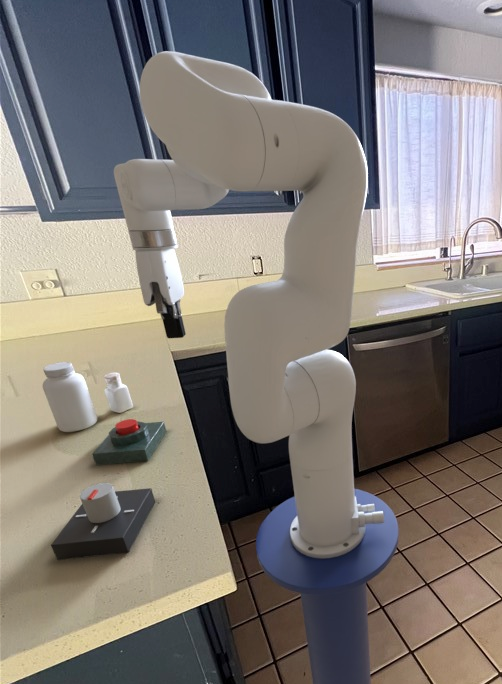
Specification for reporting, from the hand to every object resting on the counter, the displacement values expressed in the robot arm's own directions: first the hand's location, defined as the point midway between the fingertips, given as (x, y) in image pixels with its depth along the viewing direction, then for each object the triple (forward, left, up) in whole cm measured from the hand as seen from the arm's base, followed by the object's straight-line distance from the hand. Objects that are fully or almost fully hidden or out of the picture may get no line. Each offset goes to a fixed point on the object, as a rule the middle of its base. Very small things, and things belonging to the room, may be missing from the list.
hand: (176, 336), depth 86 cm
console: (+13, +3, -23) cm, 27 cm away
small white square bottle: (+23, -17, -23) cm, 37 cm away
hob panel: (+7, +29, -23) cm, 38 cm away
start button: (+13, +3, -19) cm, 23 cm away
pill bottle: (+30, -10, -23) cm, 39 cm away
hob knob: (+7, +29, -20) cm, 36 cm away
